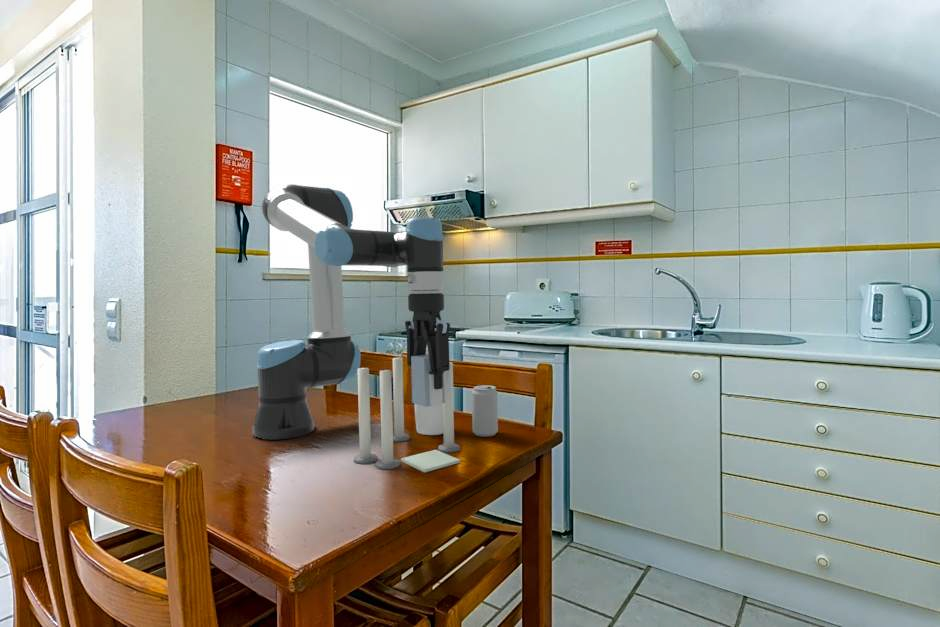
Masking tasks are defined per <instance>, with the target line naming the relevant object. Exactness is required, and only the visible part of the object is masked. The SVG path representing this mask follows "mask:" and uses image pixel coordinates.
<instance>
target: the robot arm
mask: <svg viewBox="0 0 940 627" xmlns="http://www.w3.org/2000/svg"><path fill="white" fill-rule="evenodd" d="M261 204H262V205H261V211H262V214H263V217H264V219H265V220H266V222H268V224H269V225H271V226H272V227H273V228H275V229H277V230H279V231H282V232H289V233H291V234H292V235H294V236H295V237H296V238H299V239H300V240H302V241H303V242H305V243H306V244H307V247H308V252H307V253H308V266H309V267H308V268H309V284H310V285H309V286H310V304H311V320H312V332H311V333H310V334H309V335H308V336H307V344H306V343H305V342H304V340H303V339H293V340H283V341H277V342H274V343H269V344H267V345H264V346H262V347H261V348H260V349H259V350H258V352H257V360H256V361H257V364H256V368H257V384H258V385H257V387H258V391H257V392H258V406H257V410H256V414H255V417H254V423H253V424H252V436H253V435H254V436H255V437H254V436H253V437H254V438H256V437H258V438H257V439H259V438H262V439H261V440H267V439H268V440H269V441H273V440H287V439H292V438H298V437H302V436H304V435H308V434H310V433H312V432H313V431H314V430H315V420H314V418H313V417H312V412H311V410H310V409H311V408H310V407H309V404H308V400H307V389H310V388H318V387H324V386H330V385H340V384H343V383H347V382H350V381H352V380H353V379H355V378H356V375H358V370H357V369H358V368H361V367H360V366H361V361H362V360H361V359H362V358H361V357H362V356H361V350H360V348H359V345H358V344H357V342H356V341H355V340H352V336H351V333H350V332H349V331H347V329H346V327H345V308H344V288H343V273H342V272H343V271H342V270H343V269H342V266H373V267H375V266H378V267H381V266H382V267H387V268H391V267H392V268H396V267H397V268H398V267H402V266H407V290H408V291H409V292H410V293H408V295H407V301H408V302H407V304H408V311H409V312H413V316H412V319H411V320H406V321H404V324H405V325H404V326H405V330H406V364H407V366H408V367H411V356H419V355H427V352H428V354H429V359H430V365H431V371H430V372H429V391H430V405H437V404H442V388H443V372H445V371H448V370H449V369H450V365H449V362H450V341H449V340H450V338H449V337H450V336H449V334H450V328H451V325H450V323H449V322H443V321H442V317H441V313H440V312H442V311H444V310H445V295H444V293H443V292H442V291H444V290H445V281H444V280H445V279H444V278H445V277H444V236H443V225H442V222H441V220H440V219H439V218H435V217H426V216H425V217H423V216H421V217H412V218H409V219H408V220H407V221H406V226H405V230H402V231H387V230H386V231H384V230H369V229H368V230H367V229H357V228H356V229H355V228H354V229H353V228H352V226H353V224H352V223H353V222H354V221H353V220H354V212H353V206H352V204H351V201H350V199H349V197H348V196H347V195H346V194H345V193H344V192H343V191H341V190H337V189H332V188H329V187H318V186H308V185H299V184H298V185H297V184H292V183H291V184H290V183H288V184H281V185H277V186H276V187H273V188H272V189H271V190H269V191H268V192H267V193H266V194H265V196H264V198H263V200H262V203H261ZM427 350H428V351H427Z"/></svg>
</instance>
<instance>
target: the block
mask: <svg viewBox="0 0 940 627" xmlns="http://www.w3.org/2000/svg"><path fill="white" fill-rule="evenodd" d="M410 367H411V368H410V369H411V403H412V404H413V405H414V404H418V405H421V406H424V407H427V406H432V405H430V391H429V372H430V371H431V365H430V359H429V353H428V354H427V353H426V355H419V356H411V366H410ZM443 403H445V382H444V372H443V388H442V404H443ZM437 405H438V404H437Z"/></svg>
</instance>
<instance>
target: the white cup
mask: <svg viewBox="0 0 940 627" xmlns="http://www.w3.org/2000/svg"><path fill="white" fill-rule="evenodd" d="M413 405H414V418H415V428H416V432H417V434H420V435H424V436H425V435H426V436H438V435H442V434H443V435H444V432H443V404H438V405H432V406H427V407H424V406H421V405H418V404H414V403H413Z"/></svg>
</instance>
